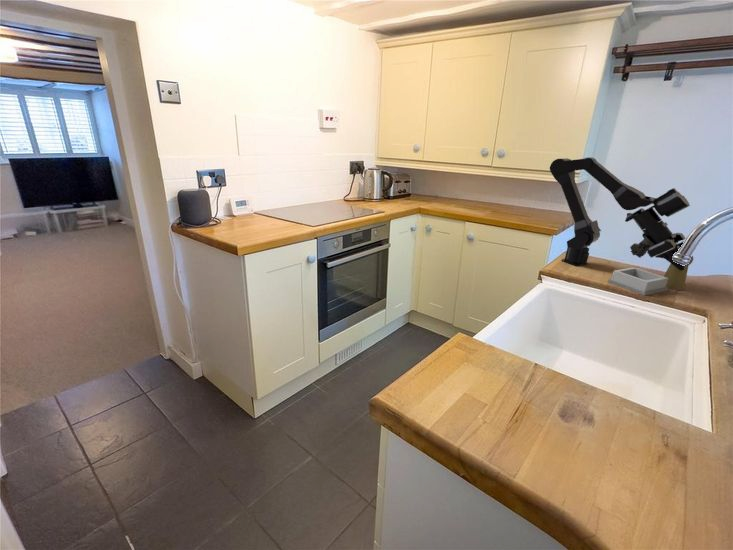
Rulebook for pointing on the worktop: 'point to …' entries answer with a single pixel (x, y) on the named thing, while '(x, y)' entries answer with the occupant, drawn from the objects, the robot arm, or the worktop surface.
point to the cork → (676, 277)
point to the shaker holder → (639, 281)
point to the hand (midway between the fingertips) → (684, 268)
